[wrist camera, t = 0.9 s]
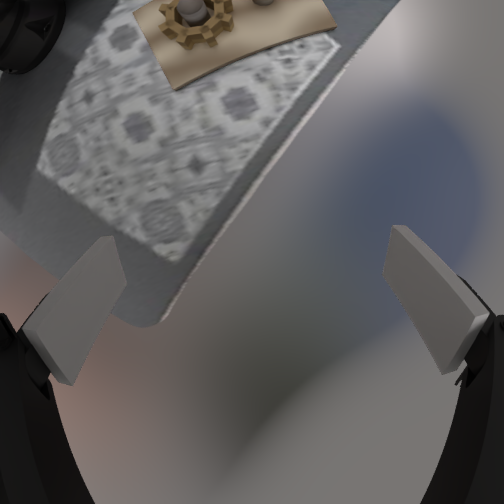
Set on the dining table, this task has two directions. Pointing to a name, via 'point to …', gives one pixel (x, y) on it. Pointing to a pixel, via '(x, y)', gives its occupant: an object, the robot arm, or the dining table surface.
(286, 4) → the gear board
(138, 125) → the dining table surface
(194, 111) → the dining table surface
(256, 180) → the dining table surface
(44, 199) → the dining table surface
